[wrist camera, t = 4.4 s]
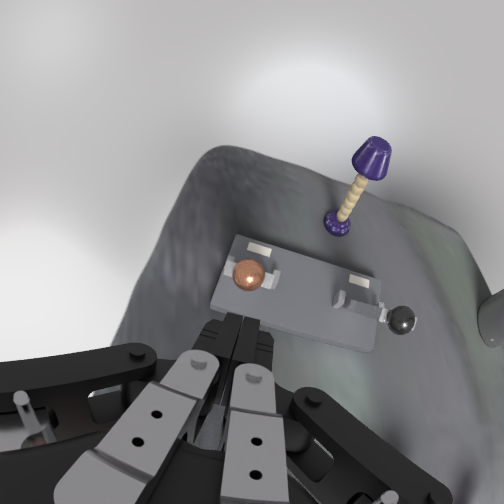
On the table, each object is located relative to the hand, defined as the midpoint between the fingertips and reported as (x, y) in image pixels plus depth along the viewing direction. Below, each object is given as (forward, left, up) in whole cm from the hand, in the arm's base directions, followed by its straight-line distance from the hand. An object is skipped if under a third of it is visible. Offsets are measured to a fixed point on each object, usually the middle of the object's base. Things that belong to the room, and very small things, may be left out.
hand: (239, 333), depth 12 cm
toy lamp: (-26, -4, -22) cm, 34 cm away
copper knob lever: (-9, -6, -19) cm, 22 cm away
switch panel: (-13, 0, -22) cm, 25 cm away
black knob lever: (-16, +6, -19) cm, 26 cm away
